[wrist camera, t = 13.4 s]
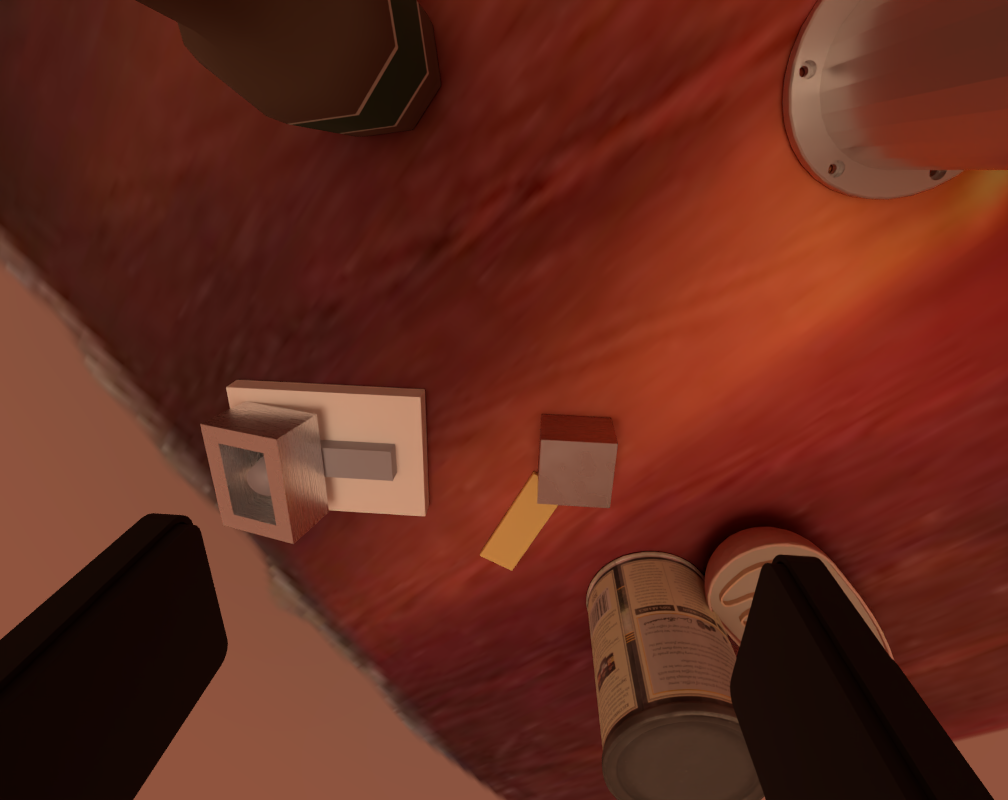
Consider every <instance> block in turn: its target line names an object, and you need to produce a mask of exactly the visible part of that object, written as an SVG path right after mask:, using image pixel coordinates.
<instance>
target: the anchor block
mask: <svg viewBox="0 0 1008 800" xmlns="http://www.w3.org/2000/svg"><path fill="white" fill-rule="evenodd" d="M617 446H618V443H617V439H616V435H615V432H614V428H613V424H612V421H611V418H603V417H584V416H566V415H547V414H541V429H540V446H539V463H538V490H537V504H551V505H567V506H583V507H600V508H610V502H611V494H612V486H613V478H614V470H615V462H616V454H617Z"/></svg>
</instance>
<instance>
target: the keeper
mask: <svg viewBox="0 0 1008 800" xmlns="http://www.w3.org/2000/svg"><path fill="white" fill-rule="evenodd" d="M226 390H227V395H228V400H229V405H230V409H231V408H233V407H235V406H237V405H239V404H241V403H243V402H245V401H247V402H253V403H258V404H263V405H269V406H274V407H280V408H285V409H291V410H296V411H302V412H307V413H313V414H317V421H318V429H319V436H320V444H321V452H322V460H323V468H324V476H325V484H326V492H327V500H328V508H329V510H334V511H350V512H365V513H381V514H397V515H412V516H426V513H427V510H428V507H429V489H428V461H427V434H426V406H425V389H411V388H391V387H371V386H352V385H332V384H312V383H293V382H273V381H253V380H236V381H235V382H233V383H232V384H230V385H229V386H227V387H226ZM247 481H248V484H249V486H250V487H251V488H252V489H253V490H254V491H255V492H257V493H259V494H261V495H265V496H271V493H270V487H269V481H268V476H267V470H266V464H265V459H264V456H263V457H262V458H261V459H260V460H259V461H258V462H257V463H256V464H255V465H254V466H253V467H252V468H251V469H250V470H249V471H248V473H247Z"/></svg>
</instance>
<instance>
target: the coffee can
mask: <svg viewBox="0 0 1008 800" xmlns="http://www.w3.org/2000/svg"><path fill="white" fill-rule="evenodd" d="M704 583H705V578H704V576H703V575H702V574H701V572H700V571H699V570H698V569H697V568H696V567H695V566H694V565H693V564H691V563H690V562H688V561H686V560H684V559H682V558H680V557H678V556H675V555H672V554H668V553H663V552H640V553H634V554H629V555H625V556H622V557H620V558H618V559H616V560H614V561H612V562H610V563H609V564H607V565H606V566H604V567H603V568H602V569H601V570H600V571H599V572H598V573H597V574H596V576H595V577H594V578H593V580H592V582H591V583H590V586H589V588H588V592H587V598H586V605H587V610H588V615H589V625H590V634H591V643H592V653H593V662H594V671H595V681H596V691H597V701H598V710H599V719H600V728H601V737H602V745H603V754H602V770H603V776H604V780H605V782H606V785H607V787H608V788H609V790H610V792H611V793H612V794H613V795H614V797H615V798H616V799H617V800H761V799H762V798H763V797H764V793H763V790H762V787H761V785H760V782H759V779H758V776H757V773H756V770H755V768H754V765H753V762H752V759H751V756H750V753H749V751H748V748H747V745H746V742H745V739H744V736H743V733H742V731H741V728H740V725H739V722H738V719H737V716H736V714H735V711H734V708H733V705H732V701H731V695H730V681H731V676H732V673H733V669H734V665H735V662H736V656H735V653H734V651H733V648H732V646H731V643H730V641H729V639H728V636H727V634H726V631H725V629H724V627H723V624H722V622H721V620H720V618H719V617H718V615H717V614H716V613H715V612H714V610H713V612H712V611H711V610H709V608H708V606H707V601H706V596H705V587H704Z"/></svg>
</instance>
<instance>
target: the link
mask: <svg viewBox="0 0 1008 800" xmlns="http://www.w3.org/2000/svg"><path fill="white" fill-rule="evenodd" d="M200 425H201V429H202V434H203V438H204V443H205V447H206V452H207V456H208V461H209V465H210V469H211V474H212V478H213V483H214V487H215V492H216V496H217V501H218V505H219V510H220V514H221V518H222V523H223V525H225V526H228V527H232V528H236V529H240V530H243V531H247V532H251V533H254V534H258V535H262V536H266V537H269V538H273V539H277V540H281V541H284V542H288V543H292V544H294V543H295V542H296V541H297V540H298V539H299V538H301V537H302V536H303V535H304V534H305V533H306V532H307V531H308V530H309V529H310V528H311V527H313V526H314V525H315V524H316V523H317V522H318V521H319V520H320V519H321V518H322V517H323V516H325V515H326V514H327V513H328V512H329V508H328V500H327V492H326V484H325V476H324V468H323V460H322V452H321V444H320V436H319V429H318V421H317V414H313V413H307V412H302V411H296V410H291V409H285V408H280V407H274V406H269V405H263V404H258V403H253V402H247V401H245V402H243V403H241V404H239V405H237V406H235V407H233V408H231V409H229V410H227V411H225V412H223V413H221V414H219V415H217V416H215V417H213V418H211V419H209V420H207V421H205V422H203V423H201V424H200ZM263 456H264V459H265V464H266V470H267V476H268V481H269V487H270V493H271V496H265V495H261V494H259V493H257V492H255V491H254V490H253V489H252V488H251V487H250V486H249V484H248V481H247V473H248V471H249V470H250V469H251V468H252V467H253V466H254V465H255V464H256V463H257V462H258V461H259V460H260V459H261V458H262V457H263Z"/></svg>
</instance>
